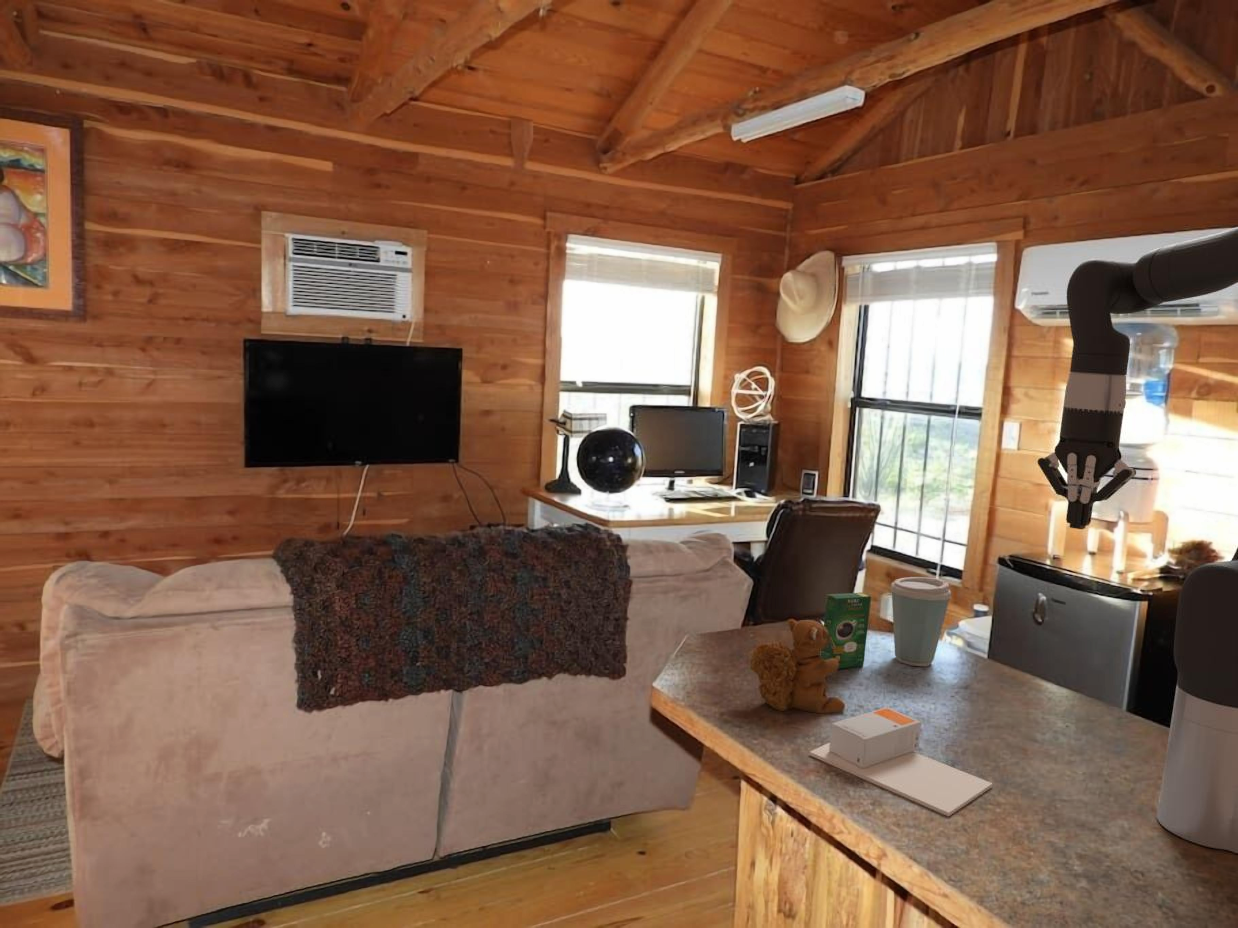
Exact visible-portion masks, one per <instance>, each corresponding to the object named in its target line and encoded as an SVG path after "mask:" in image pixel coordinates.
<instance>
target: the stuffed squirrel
mask: <svg viewBox="0 0 1238 928" xmlns="http://www.w3.org/2000/svg"><path fill="white" fill-rule="evenodd" d="M787 626H788V628H789V630H790V632H791V635H792V641H793V643H792V646H793V649H790V648H789V647H788V645H786V643H783V642H781V641H779V642H778V641H775V642H773V643H772V644H771V643H760V644H758V645H757V646H755V648H753V649H752V650H751V651H748V652H747V653H748V654H749V656H750V657H752V658H751V659H749V661H748V662H749V664H750V665H749V667H750V669H751V670H752V671H753V672H754V673H755V674H756V675H757V676H758V680H759V683H760V684H759V685H758V690H759V694H760V697H761V699H762V700H764V701H765V703H767V705H769V706H770V707H771V708H773V709H775V710H777V711H779V712H784V711H786V710H787V709H789V708H790V709H792V708H794V709H797V710H800V711H804V712H809V713H810V712H811V713H815V714H833V713H839V712H843V711H845V708H846V705H845V702H844V701H843V700H842V699H840V698H838V697H835V696H831V697H828V695H827V683H826V679H825V678H826V677H828V676H831V675H833V674H836V673H837V671H838V670H839V669H838V667H839V663H838V661H837V660H836V659H834V658H831V659H827V660H824V659H823V658H822V657H821V651H822V650H823V649H824V648H825V647H826V646H827V645H828V643H829V642H830V643H831V646H832V643H833V646H834V647H835V645H834V642H833V640H832V639H831V637H830V636H829V633H828V631H827V629H826V628H825V627H824V624H822V623H820V621H819V622H818V621H816V620H814V619H801V620H799V621H796V620H795V619H794V618H791V619H788V620H787ZM831 641H832V642H831ZM833 646H832V649H833Z"/></svg>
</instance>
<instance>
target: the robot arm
mask: <svg viewBox="0 0 1238 928" xmlns="http://www.w3.org/2000/svg"><path fill="white" fill-rule="evenodd" d="M1237 283H1238V226H1237V227H1233V228H1230V229H1226V230H1224V231H1220V232H1217V233H1213V234H1210V235H1206V236H1203V237H1197V238H1194V239H1188V240H1185V241H1181V242H1177V243H1174V244H1169V245H1165V246H1161V247H1158V248H1155V249H1152V250H1150V251H1147V252H1146V253H1144V254H1143V255H1142V256H1141V257H1140V258H1138V260H1136V261H1128V262H1127V261H1119V260H1118V261H1116V260H1109V259H1099V258H1095V259H1088V260H1086V261H1083V262H1081V263H1080V264H1079V265H1078V266H1077V267H1076V268H1075V270H1074V271H1073V272H1072V274H1071V275H1070V278H1069V280H1068V284H1067V289H1066V304H1067V312H1068V318H1069V325H1070V332H1071V333H1070V334H1071V336H1072V337H1071V338H1072V342H1073V343H1072V350H1071V351H1072V352H1071V353H1072V354H1071V361H1070V368H1069V374H1068V379H1067V382H1066V386H1065V390H1064V398H1063V408H1062V416H1061V424H1060V431H1059V441H1058V443H1057V444H1056V446H1055V447H1054V452H1052V453H1051V454H1049V455H1047V456H1045V457H1040V458H1039V459H1037V464H1038V467H1039V468H1040V469H1041V472H1042V473H1043V475H1044V476H1045V478H1046V479H1047V482H1049V484H1050V486H1051V487H1052V489H1053V491H1054V492H1055V494H1056V495H1058V496H1061V497H1063V498H1065V499H1066V500H1067V509H1066V518H1065V520H1066V523H1067V524H1069V528H1071V529H1077V530H1084V529H1086V527H1087V526H1089V525H1090V524H1091V522H1092V514H1093V509H1094V508H1093V507H1094V504H1095V503H1097V502H1102V501H1107V500H1109V499H1110V498H1111V497H1113V496H1114V495H1115V494H1116V493H1117V492H1118V491H1120V489H1121V488H1122V487H1124V486H1125V485H1126V484H1127V483H1128V482H1129V481H1130V480H1132V479H1133V478H1134V477H1135V476H1136V474H1137V470H1136V469H1135V468H1134V467H1133V468H1132V467H1130V466H1128V465H1127V464H1126V463H1125V462H1124V461H1123V460H1122V453H1121V450H1120V441H1121V433H1122V428H1123V427H1122V426H1123V419H1124V413H1125V408H1126V403H1127V400H1126V395H1127V375H1128V373H1127V372H1128V366H1129V359H1130V358H1129V357H1130V351H1131V341H1130V337H1129V336H1128V335H1127V334H1125V333H1124V332H1122V331H1118V330H1117V329H1115V328H1114V326H1113V320H1112V317H1111V314H1113V315H1114V314H1115V315H1127V314H1134V313H1139V312H1142V311H1146V310H1149V309H1151V308H1153V307H1157V306H1159V305H1162V304H1163V303H1169V302H1170V303H1171V302H1176V301H1181V300H1186V299H1191V298H1196V297H1201V296H1206V295H1209V294H1214V293H1216V292H1219V291H1223V290H1225V289H1227V288H1229V287H1231V286H1234V285H1235V284H1237ZM1060 465H1061V467H1062V470H1064V472H1065V473H1066V474H1067V476H1066V477H1067V478H1066V479H1067V480H1066V479H1065V478H1064V476H1063V475H1062V473H1061V471H1060V470H1059V467H1060ZM1113 468H1114V470H1113V472H1112V476H1113V477H1112V478H1111V480H1109V481H1108V482H1107V483H1106V484H1104V485H1103V487H1102V488H1101V489H1099V490H1098V488H1099V487H1100V486H1101V485H1100V484H1101V481H1102V478H1104V477H1105V476H1106V475H1107V474H1108V473H1109V472H1111V470H1112V469H1113ZM1175 620H1176V621H1175V628H1174V629H1175V632H1174V639H1173V640H1174V643H1173V659H1174V660H1173V661H1174V664H1175V666H1176V669H1177V680H1176V687H1175V695H1174V701H1173V707H1172V714H1171V720H1170V727H1169V733H1168V740H1167V745H1166V754H1165V760H1164V765H1163V772H1162V779H1161V780H1162V781H1161V787H1160V792H1159V797H1158V803H1157V804H1158V805H1157V813H1156V816H1157V817H1156V818H1157V820H1158V822H1159V823H1160V824H1161V826H1162V827H1164V828H1165V829H1166V830H1168V831H1169V832H1170V833H1172V834H1174V835H1176V836H1178V837H1180V838H1182V839H1183V840H1186V841H1188V842H1191V843H1193V844H1194V843H1195V844H1197V845H1201V846H1203V847H1207V848H1213V849H1219V850H1225V851H1230V852H1232V853H1235V854H1238V547H1237V548H1236V550H1235V552H1234V554H1233V556H1232V558H1231V560H1227V561H1216V562H1210V563H1209V562H1208V563H1205V564H1202V565H1199V566H1198V567H1195V568H1194V569H1192V571H1191V572H1190V573H1189V574H1188V575H1187V577H1186V578H1185V580H1184V582H1183V583H1182V587H1181V589H1180V593H1179V596H1178V603H1177V611H1176V619H1175Z"/></svg>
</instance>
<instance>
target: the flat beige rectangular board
mask: <svg viewBox="0 0 1238 928" xmlns="http://www.w3.org/2000/svg"><path fill="white" fill-rule="evenodd" d="M829 746H830V742H827V743H825V744H823V745H821V746H819V747H817V748H815V749H812V750H811V751H809V756H810V757H813V758H814V759H818V760H820V761H822V762H824V763H827V764H828V765H830V766H834V767H835V768H838V769H839V770H842V771H845V772H847V773H848V774H851V775H854V776H855V777H858V778H860V779H863V780H864V781H867V782H869V783H872V784H874V785H876V786H878V787H880V788H883V789H886V790H888V791H889V792H892V793H894V794H896V795H899V796H901V797H903V798H906V799H908V800H910V801H912V802H915V803H917V804H919V805H922V806H923V807H926V808H928V809H930V810H932V811H935V812H936V813H940V814H942V815H944V816H946V817H950V816H951V815H953V814H955V813H956V812H957V811H959V810H961V809H962V808H963V807H965V806H966V805H968V804H969V803H971V802H972V801H974V800H975V799H977V798H978V797H980V796H981V795H983V794H984V793H986V792H987V791H989V790H990V789H992V788H993V783H992V782H990V781H987V780H985V779H983V778H980V777H979V776H975V775H973V774H970V773H967V772H965V771H962V770H959V769H957V768H954V767H953V766H949V765H947V764H946V763H942V762H940V761H938V760H935V759H933V758H930V757H927V756H926V755H923V754H921V753H917V752H915V751H913V752H910V753H907V754H904V755H901V756H898V757H895V758H892V759H889V760H886V761H884V762H881V763H878V764H875V765H872V766H869V767H866V768H861V767H859V766H857V765H855V764H853V763H851V762H849V761H846V760H844V759H843V758H841V757H840V756H838V755H836V754H834V753H832V752H830V751H829Z"/></svg>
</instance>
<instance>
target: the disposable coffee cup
mask: <svg viewBox="0 0 1238 928" xmlns="http://www.w3.org/2000/svg"><path fill="white" fill-rule="evenodd" d="M890 592H891V600H892V602H891V603H892V621H893V623H892V624H893V641H894V656H895V660H897V661H898V662H900V663H902V664H904V665H908V666H914V667H927V666H930V665H932V663H933V662H934V660H935V655H936V652H937V649H938V645H939V644H938V643H939V641H940V636H941V633H942V628H943V624H944V621H945V617H946V613H947V609H948V606H949V602H950V599H952V592H951V590H950V585H949V583H948V582H947V581H946V580H943V579H941V578H935V577H923V576H910V577H901V578H900V577H899V578H898V579H894V581H892V582H891V585H890Z"/></svg>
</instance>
